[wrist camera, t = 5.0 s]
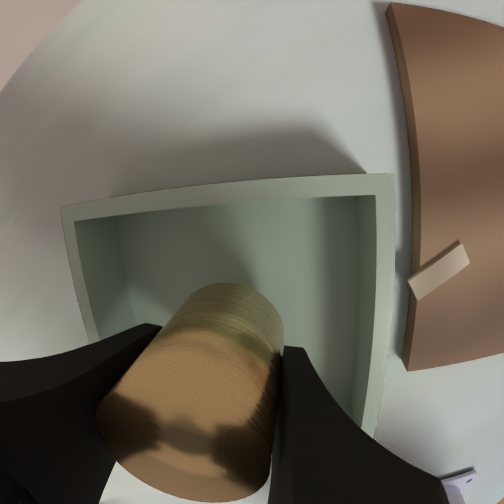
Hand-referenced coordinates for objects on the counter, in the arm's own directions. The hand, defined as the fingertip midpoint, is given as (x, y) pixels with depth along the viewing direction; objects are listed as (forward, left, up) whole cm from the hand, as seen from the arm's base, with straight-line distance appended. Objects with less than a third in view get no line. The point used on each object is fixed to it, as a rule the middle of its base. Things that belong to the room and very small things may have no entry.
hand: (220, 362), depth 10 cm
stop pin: (0, 0, -2) cm, 2 cm away
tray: (0, 0, -4) cm, 4 cm away
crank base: (+5, -17, -4) cm, 18 cm away
